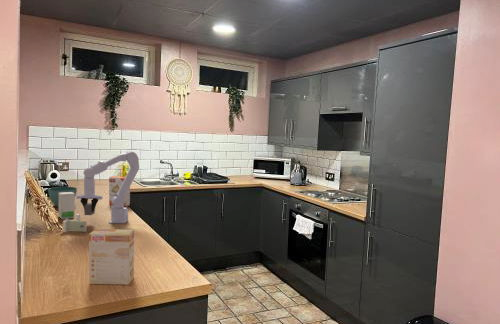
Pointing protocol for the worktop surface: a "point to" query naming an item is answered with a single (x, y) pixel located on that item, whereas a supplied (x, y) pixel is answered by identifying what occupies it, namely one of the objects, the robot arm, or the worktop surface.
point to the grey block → (88, 209)
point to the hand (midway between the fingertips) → (89, 211)
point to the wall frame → (65, 223)
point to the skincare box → (66, 205)
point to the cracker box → (117, 189)
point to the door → (77, 225)
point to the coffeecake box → (111, 256)
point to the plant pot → (54, 192)
